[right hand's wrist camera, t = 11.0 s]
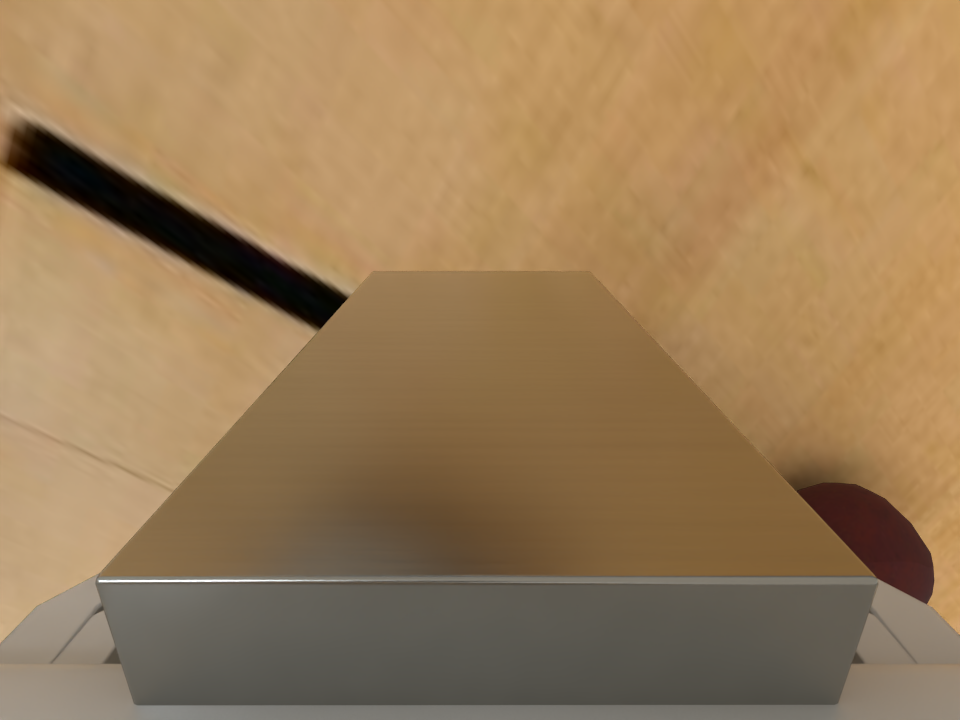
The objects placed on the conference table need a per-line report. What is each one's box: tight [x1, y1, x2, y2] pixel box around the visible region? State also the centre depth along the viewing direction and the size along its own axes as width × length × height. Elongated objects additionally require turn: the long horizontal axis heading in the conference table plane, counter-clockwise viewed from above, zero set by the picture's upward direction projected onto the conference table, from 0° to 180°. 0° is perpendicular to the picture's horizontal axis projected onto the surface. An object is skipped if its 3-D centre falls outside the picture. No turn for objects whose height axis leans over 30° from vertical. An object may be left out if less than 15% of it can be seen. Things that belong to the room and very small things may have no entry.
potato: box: [796, 483, 934, 604], centre depth 28 cm, size 7×8×7 cm
